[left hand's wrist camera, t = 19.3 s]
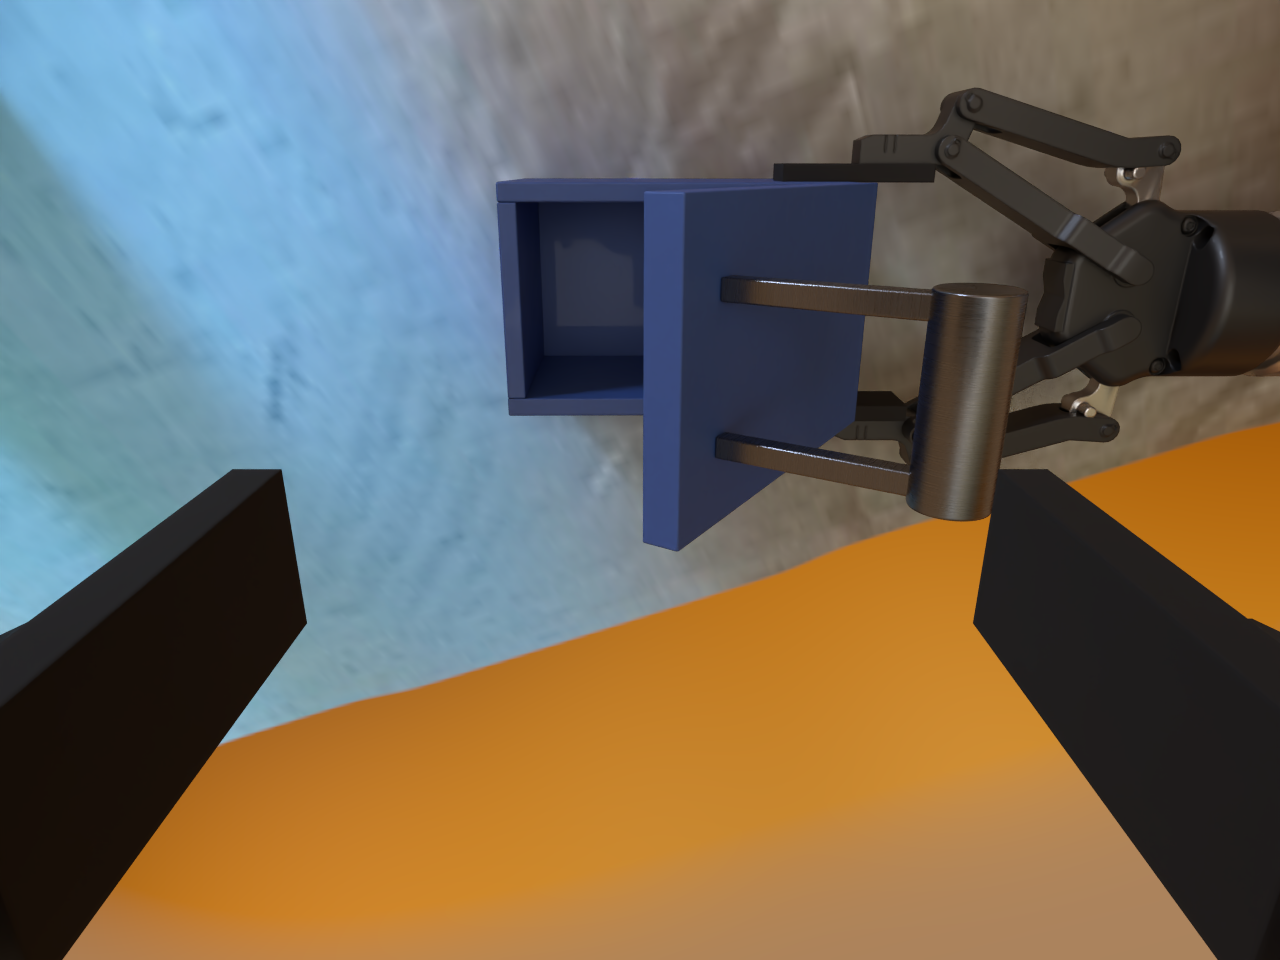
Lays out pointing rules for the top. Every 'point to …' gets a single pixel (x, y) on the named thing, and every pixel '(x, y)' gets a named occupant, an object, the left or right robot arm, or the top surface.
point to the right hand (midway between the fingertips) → (771, 295)
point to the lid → (802, 357)
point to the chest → (578, 290)
